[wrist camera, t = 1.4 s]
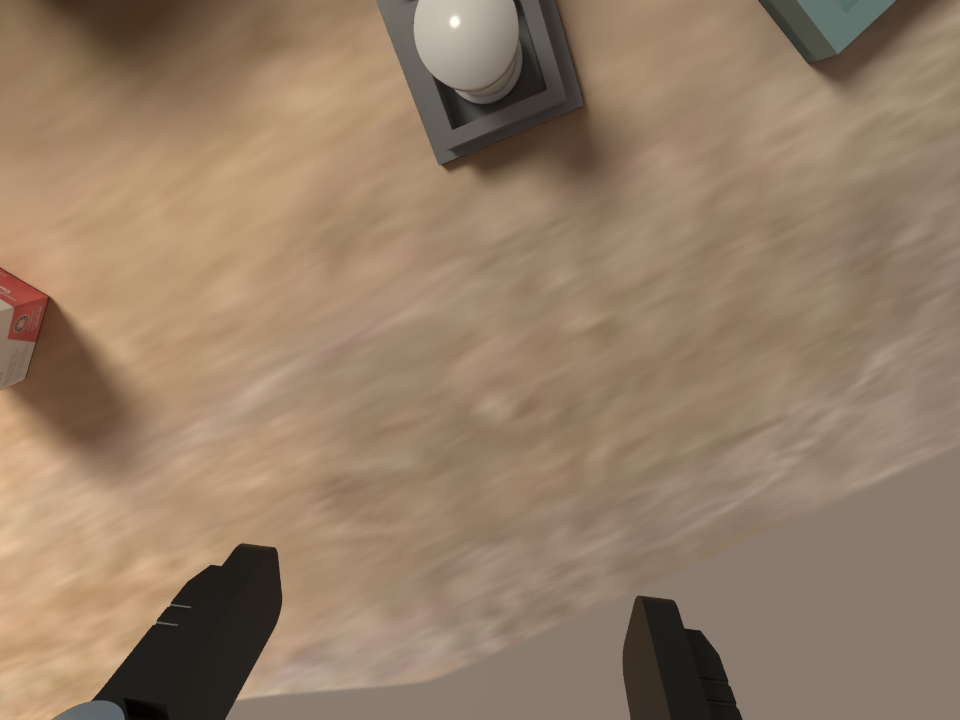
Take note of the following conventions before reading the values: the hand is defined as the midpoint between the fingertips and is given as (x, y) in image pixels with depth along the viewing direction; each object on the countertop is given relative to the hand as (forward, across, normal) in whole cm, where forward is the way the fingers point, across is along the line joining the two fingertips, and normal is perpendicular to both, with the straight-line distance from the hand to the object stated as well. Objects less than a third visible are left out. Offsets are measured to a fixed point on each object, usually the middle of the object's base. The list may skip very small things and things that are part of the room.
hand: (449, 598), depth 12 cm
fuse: (+24, +2, -14) cm, 28 cm away
